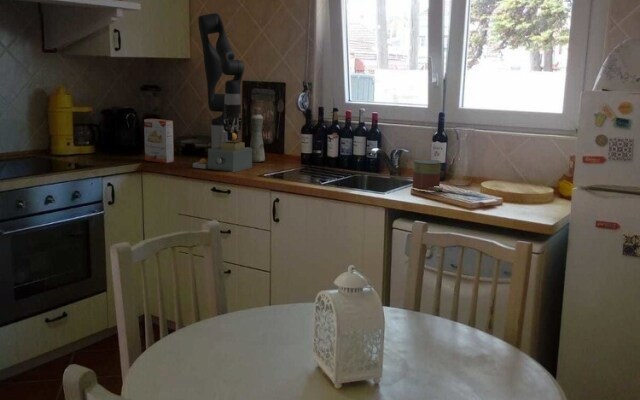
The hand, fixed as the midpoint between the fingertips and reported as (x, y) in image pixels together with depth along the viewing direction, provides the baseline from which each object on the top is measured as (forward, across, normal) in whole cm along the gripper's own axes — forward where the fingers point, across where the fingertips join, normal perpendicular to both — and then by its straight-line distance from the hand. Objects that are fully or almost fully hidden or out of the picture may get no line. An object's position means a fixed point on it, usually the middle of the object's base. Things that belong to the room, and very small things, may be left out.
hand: (232, 139), depth 312 cm
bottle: (+14, -26, -3) cm, 30 cm away
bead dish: (+14, +7, -12) cm, 20 cm away
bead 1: (+13, +7, -12) cm, 19 cm away
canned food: (+14, -2, +95) cm, 96 cm away
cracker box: (+14, +3, -42) cm, 44 cm away
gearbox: (+14, +2, 0) cm, 14 cm away
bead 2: (+1, 0, 0) cm, 1 cm away
